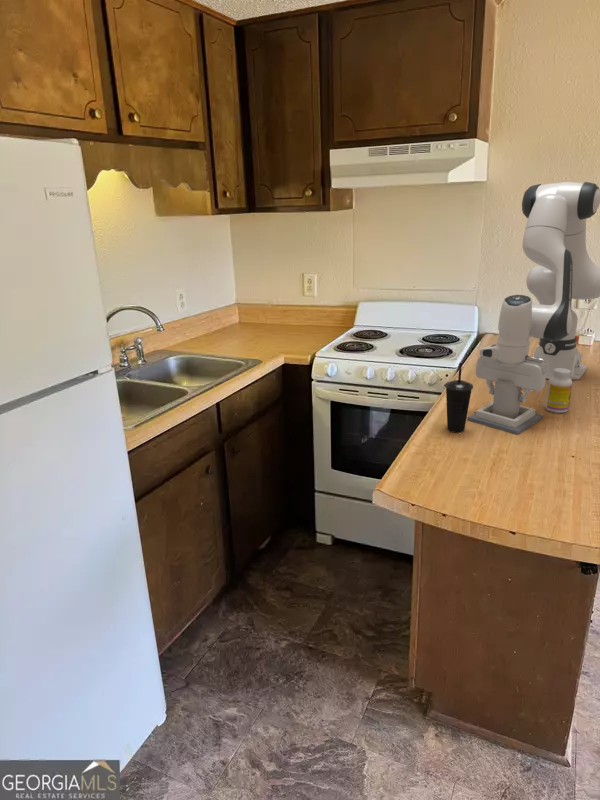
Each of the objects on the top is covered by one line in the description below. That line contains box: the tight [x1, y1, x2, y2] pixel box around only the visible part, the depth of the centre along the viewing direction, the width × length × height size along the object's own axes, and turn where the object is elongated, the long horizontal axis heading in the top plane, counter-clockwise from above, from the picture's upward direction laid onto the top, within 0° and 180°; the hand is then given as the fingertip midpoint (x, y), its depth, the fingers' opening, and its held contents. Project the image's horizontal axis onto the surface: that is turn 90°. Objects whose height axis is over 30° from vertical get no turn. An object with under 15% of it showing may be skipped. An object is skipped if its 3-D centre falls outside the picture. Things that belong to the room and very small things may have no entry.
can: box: [492, 379, 523, 419], centre depth 169 cm, size 8×8×12 cm
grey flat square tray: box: [466, 401, 544, 436], centre depth 171 cm, size 16×16×3 cm
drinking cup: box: [444, 362, 474, 433], centre depth 163 cm, size 8×8×20 cm
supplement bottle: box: [545, 368, 573, 414], centre depth 175 cm, size 7×7×13 cm
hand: (507, 397), depth 169 cm, fingers open, 8 cm apart
